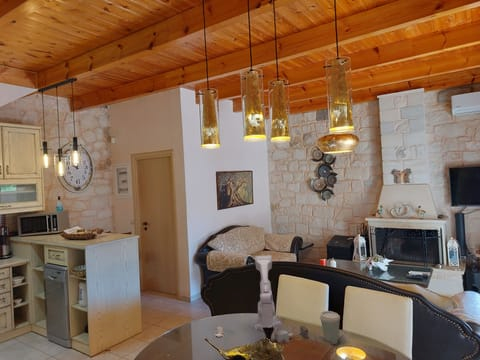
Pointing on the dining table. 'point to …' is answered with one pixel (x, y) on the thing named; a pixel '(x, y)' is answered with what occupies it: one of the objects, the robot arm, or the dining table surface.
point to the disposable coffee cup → (330, 326)
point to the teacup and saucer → (219, 331)
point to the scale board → (303, 332)
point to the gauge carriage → (282, 336)
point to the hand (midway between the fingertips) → (268, 341)
